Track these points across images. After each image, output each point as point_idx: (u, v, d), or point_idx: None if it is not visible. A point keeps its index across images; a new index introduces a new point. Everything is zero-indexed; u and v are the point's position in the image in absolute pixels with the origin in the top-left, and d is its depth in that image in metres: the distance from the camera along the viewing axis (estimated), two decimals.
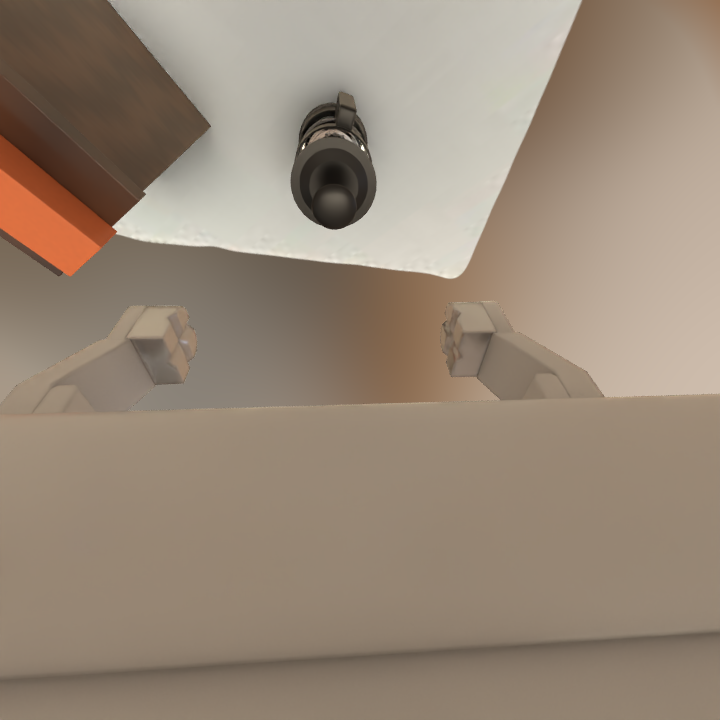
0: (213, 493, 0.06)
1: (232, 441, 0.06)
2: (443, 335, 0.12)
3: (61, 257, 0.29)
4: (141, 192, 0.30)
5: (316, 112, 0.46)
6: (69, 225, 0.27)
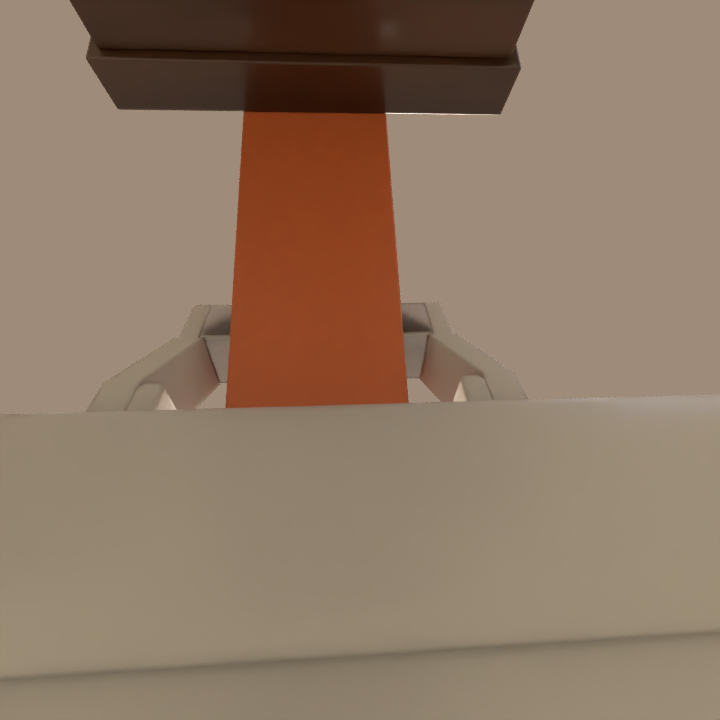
0: (213, 493, 0.06)
1: (232, 441, 0.06)
2: None
3: None
4: None
5: None
6: None
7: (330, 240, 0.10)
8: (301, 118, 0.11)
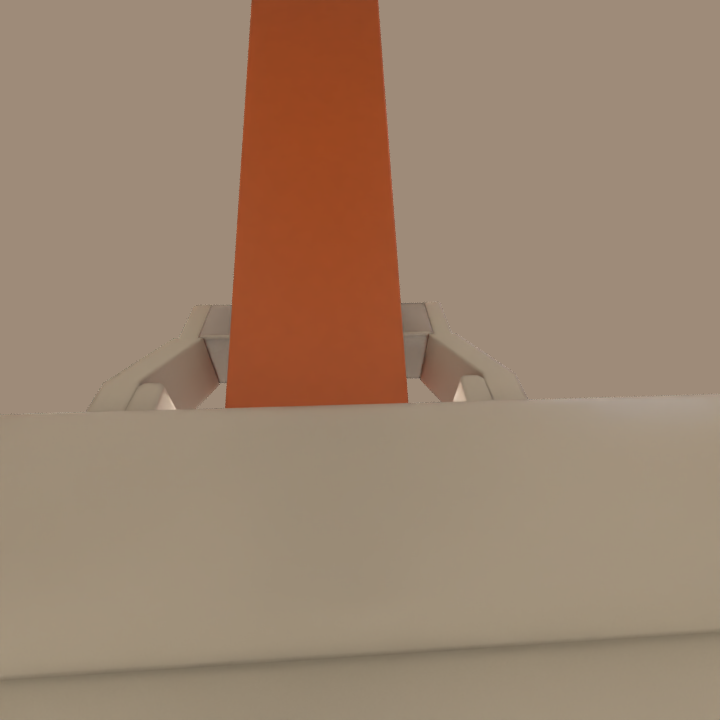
0: (213, 493, 0.06)
1: (232, 441, 0.06)
2: None
3: None
4: None
5: None
6: None
7: (330, 240, 0.10)
8: (302, 117, 0.11)
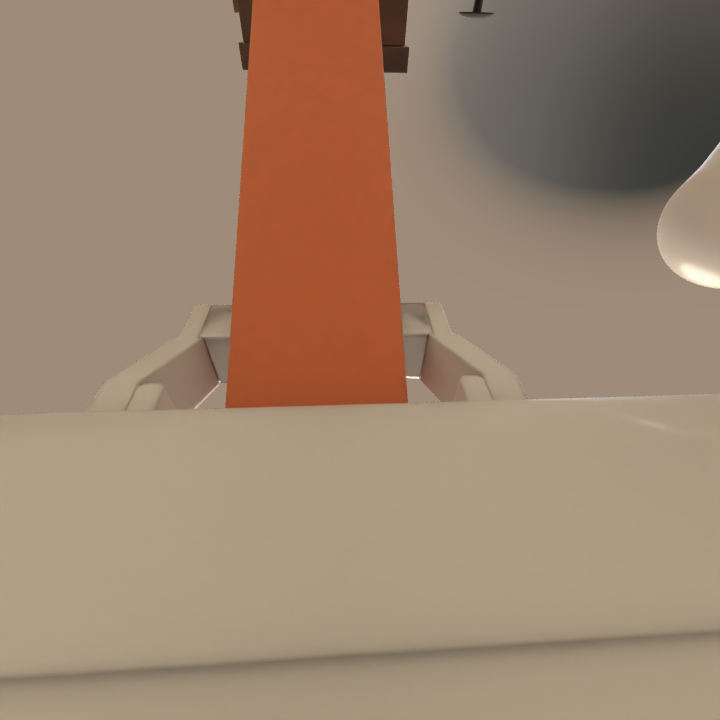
0: (213, 493, 0.06)
1: (232, 441, 0.06)
2: None
3: None
4: None
5: None
6: None
7: (330, 238, 0.10)
8: (302, 116, 0.11)
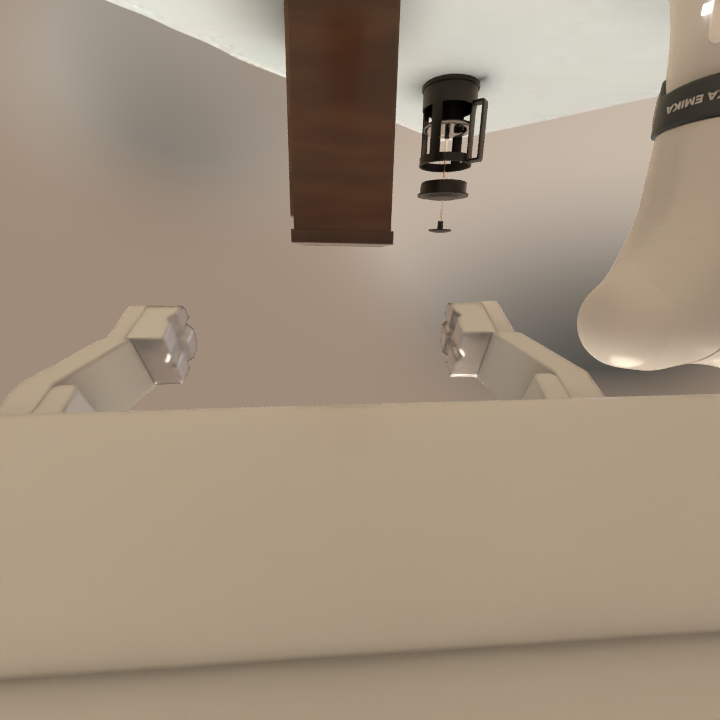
0: (214, 492, 0.06)
1: (232, 441, 0.06)
2: (443, 335, 0.12)
3: None
4: None
5: (461, 90, 0.57)
6: None
7: None
8: None
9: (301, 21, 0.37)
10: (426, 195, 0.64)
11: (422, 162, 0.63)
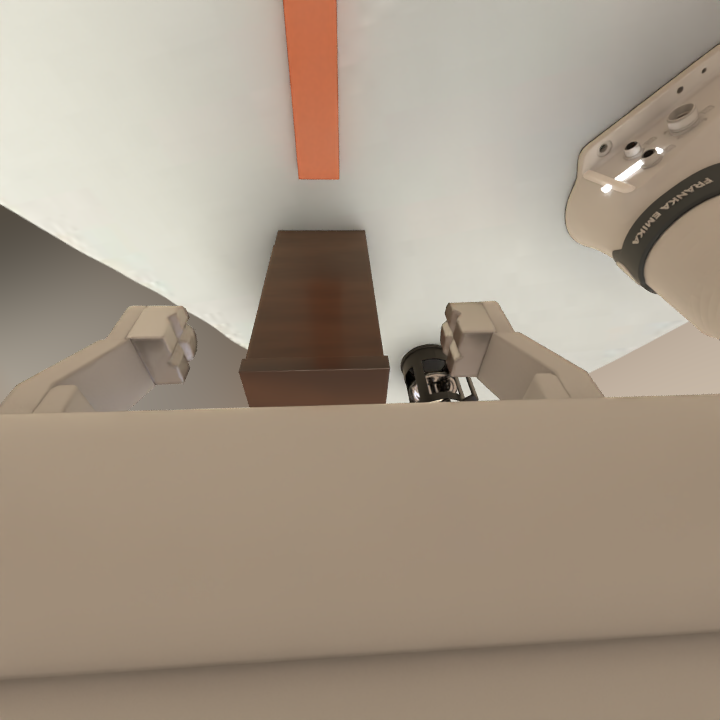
0: (213, 493, 0.06)
1: (232, 441, 0.06)
2: (443, 335, 0.12)
3: (308, 166, 0.40)
4: None
5: (436, 353, 0.62)
6: (337, 156, 0.39)
7: None
8: None
9: (285, 246, 0.44)
10: None
11: None
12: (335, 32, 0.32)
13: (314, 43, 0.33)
